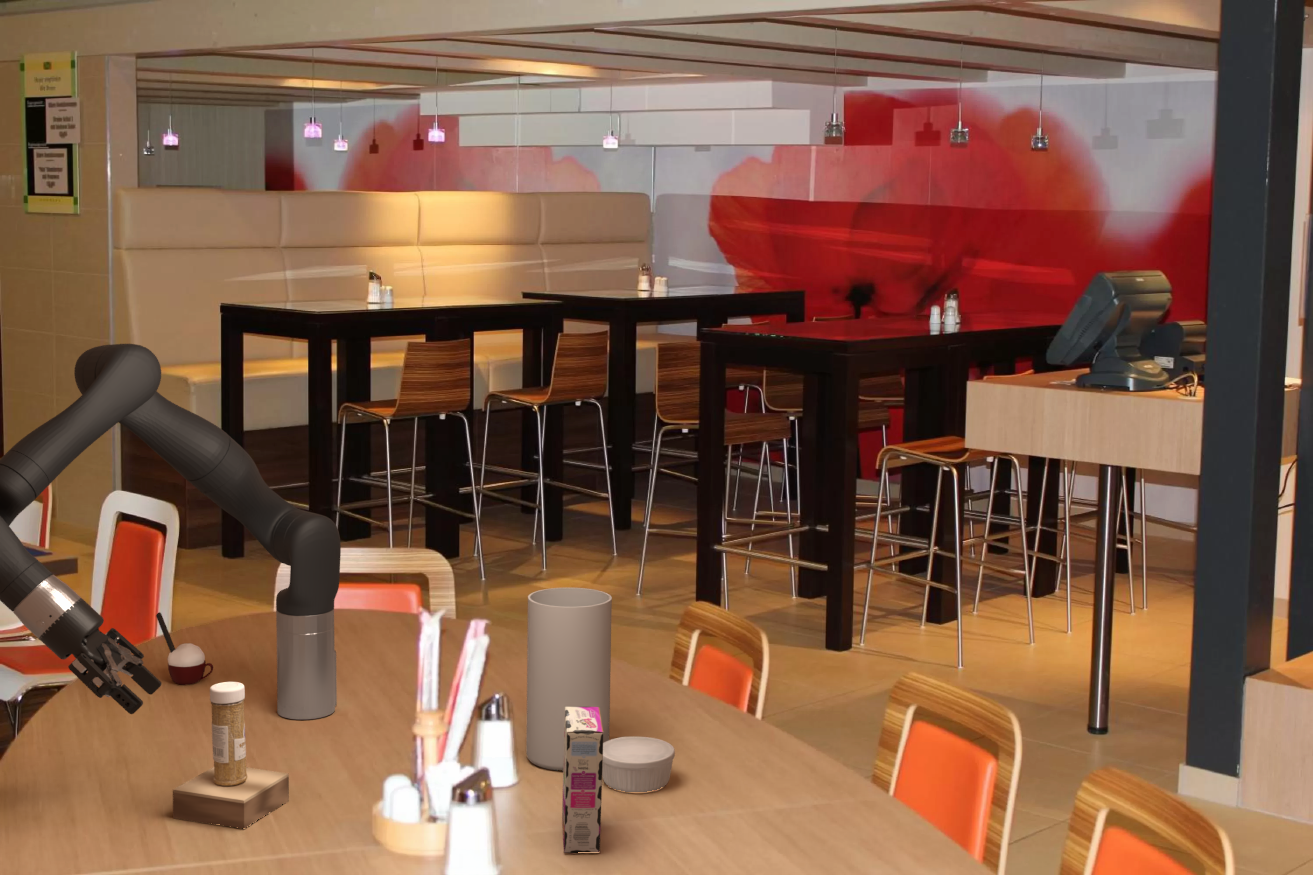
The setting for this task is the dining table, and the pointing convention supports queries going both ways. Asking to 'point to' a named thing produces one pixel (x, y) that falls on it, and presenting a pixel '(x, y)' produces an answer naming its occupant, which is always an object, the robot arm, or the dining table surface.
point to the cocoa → (184, 659)
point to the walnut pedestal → (231, 798)
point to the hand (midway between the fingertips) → (147, 699)
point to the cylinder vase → (565, 666)
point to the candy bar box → (582, 779)
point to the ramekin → (637, 763)
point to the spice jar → (228, 733)
